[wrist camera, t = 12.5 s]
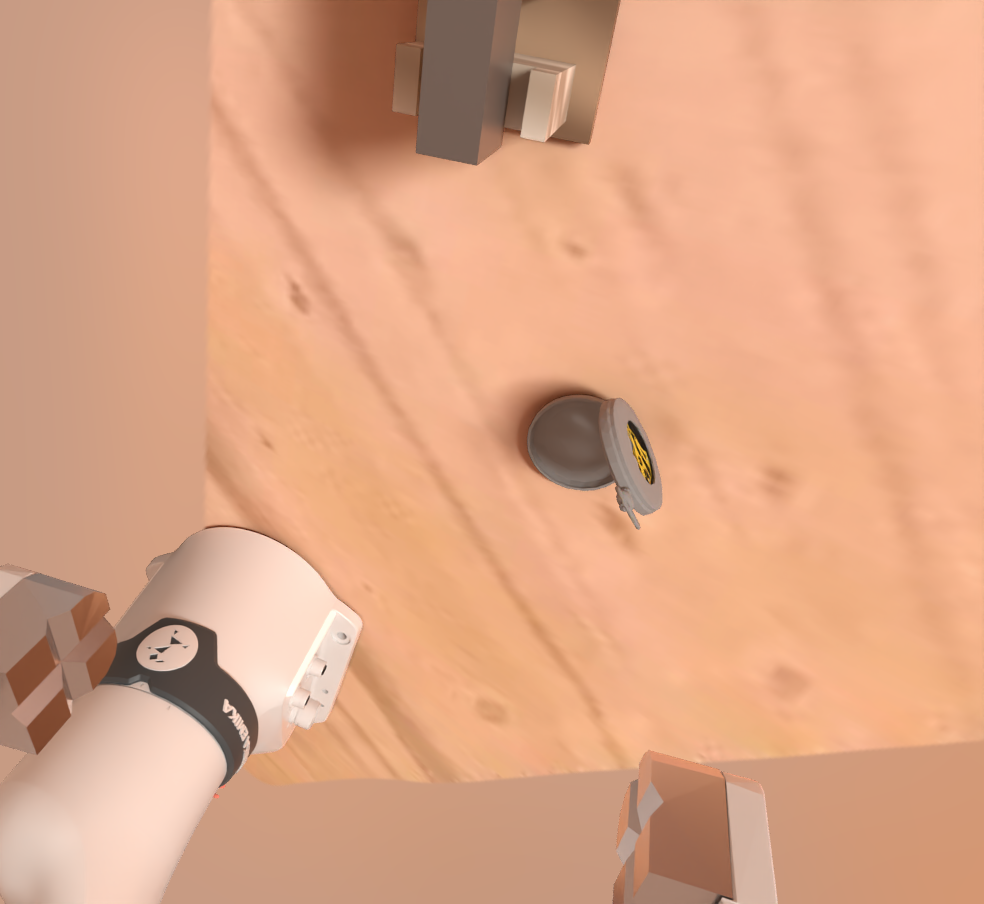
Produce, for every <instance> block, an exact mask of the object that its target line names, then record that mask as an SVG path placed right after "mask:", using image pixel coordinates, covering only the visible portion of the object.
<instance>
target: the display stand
mask: <svg viewBox="0 0 984 904" xmlns="http://www.w3.org/2000/svg"><path fill="white" fill-rule="evenodd" d="M427 1H428V0H418V13H417V26H416V39H415V42H410V43H401V44H396V58H395V74H394V90H393V107H392V111H393V112H398V113H403V114H408V115H413V116H417V115H419V104H420V91H421V78H422V65H423V52H424V39H425V26H426V14H427ZM620 1H621V0H522V4H521V11H520V18H519V25H518V32H517V39H516V46H515V53H514V60H513V67H512V74H511V82H510V89H509V96H508V103H507V110H506V117H505V124H504V128H509V129H514V130H519V131H521V136H520V137H521V138H526V139H531V140H536V141H541V142H545V141H546V140H547V139H548V138H549V137H553V138H558V139H563V140H568V141H573V142H578V143H583V144H588V145H589V143H590V142H591V137H592V132H593V128H594V123H595V118H596V113H597V109H598V104H599V99H600V95H601V90H602V85H603V81H604V76H605V71H606V66H607V62H608V57H609V52H610V48H611V43H612V38H613V33H614V29H615V24H616V19H617V15H618V10H619V5H620Z"/></svg>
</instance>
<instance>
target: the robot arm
mask: <svg viewBox="0 0 984 904" xmlns="http://www.w3.org/2000/svg"><path fill="white" fill-rule="evenodd" d="M146 574H147V577H148V579H149V582H148V583H147V585H146V586H145V588H143V590H142V591H141V593H140V594H139V595H138V596H137V598H136V599H135V600H134V601H133V603H132V604H131V605H130V607H129V608H128V610H127V611H126V612H125V613H124V615H123V616H122V617H121V619H120V620H119V622H118V623H117V624H116V625H115V627H114V628H113V627H112V626H111V625H110V623H109V622H108V621H107V620H106V619H105V618H104V617H103V616H104V615H105V614H106V613H107V612H108V611H109V610H110V607H109V603H108V600H107V597H106V594H105V593H102V592H98V591H95V590H92V589H88V588H85V587H82V586H79V585H76V584H72V583H69V582H66V581H62V580H59V579H56V578H53V577H49V576H46V575H43V574H41V573H38V572H34V571H31V570H27V569H24V568H21V567H17V566H14V565H10V564H6V565H3V566H0V745H3V746H7V747H10V748H13V749H17V750H20V751H24V752H27V754H26V755H25V756H24V757H23V759H22V760H21V761H20V762H19V763H18V764H17V765H16V766H15V768H14V769H13V770H12V771H11V772H10V773H9V775H8V776H7V777H6V778H5V779H4V780H3V781H2V783H1V784H0V895H1V897H2V899H3V901H4V902H5V904H160V903H161V900H162V898H163V895H164V893H165V890H166V888H167V885H168V883H169V881H170V879H171V877H172V875H173V873H174V870H175V868H176V866H177V864H178V862H179V860H180V858H181V856H182V854H183V852H184V850H185V848H186V846H187V844H188V842H189V840H190V838H191V836H192V834H193V832H194V831H195V829H196V827H197V825H198V823H199V821H200V819H201V818H202V816H203V814H204V812H205V810H206V809H207V807H208V805H209V803H210V802H211V800H212V798H213V797H214V798H219V795H217V794H216V791H217V789H218V788H224V787H225V784H226V783H227V782H228V781H229V780H230V779H231V778H232V776H233V775H234V774H235V773H237V772H238V771H239V770H240V769H241V768H242V766H243V765H244V764H245V762H246V760H247V758H248V757H249V756H250V755H251V754H262V753H270V752H275V751H277V750H279V749H281V748H282V747H283V746H284V745H285V744H286V742H287V740H288V739H289V737H290V735H291V733H292V732H293V730H294V728H295V726H296V725H297V726H299V727H301V728H304V729H306V730H307V729H309V730H310V728H311V727H312V725H313V723H320V722H324V721H325V720H326V719H327V717H328V716H329V714H330V713H331V711H332V708H333V706H334V703H335V700H336V698H337V695H338V692H339V689H340V687H341V684H342V681H343V678H344V676H345V673H346V670H347V668H348V665H349V662H350V659H351V657H352V654H353V651H354V648H355V646H356V643H357V640H358V638H359V635H360V632H361V629H362V626H363V624H362V620H361V619H360V617H359V616H358V615H357V614H356V613H355V612H354V611H353V610H351V609H350V608H349V607H348V606H346V605H345V604H344V603H343V602H341V601H340V600H338V599H337V598H336V597H335V596H334V595H333V593H332V592H331V591H330V589H329V588H328V587H327V585H326V584H325V582H324V581H323V579H322V578H321V577H320V576H319V574H318V573H317V572H316V571H315V570H314V569H313V568H312V567H311V566H310V565H309V564H308V563H307V562H306V561H305V560H304V559H303V558H301V557H300V556H299V555H298V554H296V553H295V552H294V551H292V550H291V549H289V548H288V547H286V546H284V545H282V544H281V543H279V542H277V541H275V540H273V539H271V538H269V537H266V536H264V535H261V534H258V533H255V532H252V531H248V530H244V529H239V528H231V527H216V528H209V529H205V530H202V531H199V532H197V533H195V534H193V535H191V536H190V537H188V538H187V539H186V540H185V541H184V542H183V543H182V544H181V546H180V547H179V548H178V549H177V550H176V551H174V552H172V553H168V554H164V555H161V556H158V557H156V558H154V559H153V560H152V561H151V563H150V564H149V565H148V567H147V568H146ZM616 851H617V853H618V855H619V857H620V859H621V861H622V863H623V865H624V866H623V868H622V869H621V871H620V873H619V875H618V877H617V879H616V881H615V883H614V888H613V889H614V890H613V904H778V902H777V894H776V885H775V877H774V869H773V861H772V852H771V844H770V837H769V828H768V820H767V811H766V804H765V796H764V791H763V789H762V787H761V785H760V783H759V782H757V781H755V780H752V779H747V778H744V777H740V776H737V775H733V774H729V773H725V772H722V771H719V769H716V768H712V767H709V766H705V765H701V764H698V763H694V762H690V761H687V760H683V759H679V758H676V757H672V756H668V755H665V754H661V753H657V752H654V751H650V750H648V751H647V752H646V753H644V755H643V757H642V759H641V761H640V763H639V778H638V779H637V780H635V781H632V782H631V783H630V785H629V787H628V790H627V792H626V794H625V797H624V801H623V805H622V809H621V813H620V819H619V825H618V833H617V846H616Z"/></svg>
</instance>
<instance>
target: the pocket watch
mask: <svg viewBox="0 0 984 904" xmlns="http://www.w3.org/2000/svg"><path fill="white" fill-rule="evenodd" d="M527 446H528V452H529V455H530V458H531V460H532V461H533V463H534V465H535V466H536V468H537V469H538V470H539V471H540V473H542V474H543V475H544V476H545V477H546V478H547V479H549V480H550V481H552V482H554V483H555V484H557V485H560V486H562V487H565V488H569V489H575V490H582V491H588V490H596V489H600V488H604V487H607V486H609V485H611V484H612V483H614V482H615V483H616V485H617V487H615V489H616V492H617V496H616V497H617V502H618V504H619V505H620V506H619V508H620V510H621V511H624V512H626V511H627V513H628V515H629V517H630V519H631V520H632V522H633V524H634V525H635V527H636V529H638V530H639V529H640V525H639V523H638V521H637V519H636V517H635V515H634V513H633V511H632V510H633V509H635V510H636V511H637V512H638V513H640V514H641V515H643V516H644V515H647V514H651V513H653V512H655V511H656V510H658V509H660V507H661V505H662V484H661V478H660V474H659V470H658V466H657V463H656V459H655V456H654V453H653V451H652V448H651V445H650V442H649V439H648V437H647V435H646V433H645V431H644V429H643V427H642V425H641V423H640V421H639V419H638V418H637V416H636V414H635V412H634V411H633V409H632V408H631V407H630V406H629V405H628V404H627V403H626V402H625V401H624V400H623V399H621V398H616V399H609V400H607V401H605V400H603V399H600V398H597V397H593V396H590V395H570V396H564V397H561V398H558V399H555V400H553V401H552V402H550V403H548V404H547V405H545V406H544V407H543V408H542V409H541V410H540V411H539V412H537V414H536V416H535V418H534V420H533V421H532V423H531V425H530V427H529V430H528V436H527Z"/></svg>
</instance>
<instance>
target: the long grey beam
mask: <svg viewBox="0 0 984 904" xmlns="http://www.w3.org/2000/svg"><path fill="white" fill-rule="evenodd" d="M521 4H522V0H428V1H427V14H426V26H425V39H424V52H423V65H422V78H421V91H420V104H419V117H418V130H417V143H416V153H418V154H423V155H428V156H433V157H438V158H443V159H448V160H452V161H457V162H462V163H467V164H472V165H478V164H480V163H481V162H482V161H483V160H485V159H486V158H487V157H489V156H490V155H491V154H493V153H494V152H495V151H496V150H498V149H499V148H500V147H501V145H502V138H503V131H504V124H505V117H506V110H507V103H508V96H509V89H510V82H511V74H512V67H513V60H514V53H515V46H516V39H517V32H518V25H519V18H520V11H521Z"/></svg>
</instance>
